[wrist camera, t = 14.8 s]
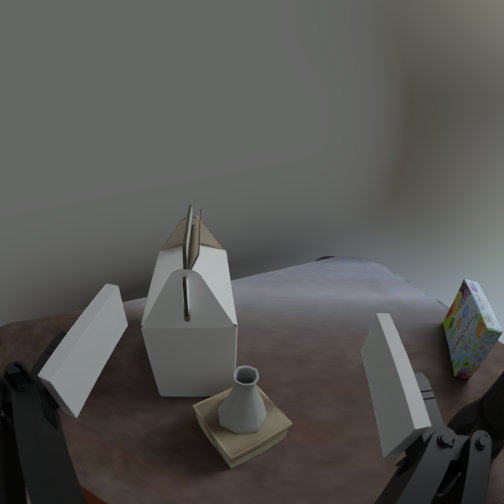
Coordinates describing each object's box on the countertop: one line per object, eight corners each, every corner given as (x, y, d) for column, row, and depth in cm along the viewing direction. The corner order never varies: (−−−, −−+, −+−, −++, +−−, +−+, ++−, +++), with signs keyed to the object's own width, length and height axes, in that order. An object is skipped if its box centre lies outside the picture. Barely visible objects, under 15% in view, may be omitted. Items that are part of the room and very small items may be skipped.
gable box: (234, 396, 45) (241, 258, 32) (160, 397, 43) (125, 259, 30) (224, 316, 64) (227, 198, 51) (167, 317, 62) (156, 198, 49)
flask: (212, 429, 33) (208, 393, 28) (222, 390, 39) (222, 349, 35) (263, 438, 32) (273, 404, 28) (269, 398, 39) (278, 357, 34)
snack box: (470, 380, 44) (504, 332, 37) (453, 378, 46) (486, 328, 39) (456, 325, 62) (478, 281, 55) (441, 322, 64) (462, 276, 57)
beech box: (285, 438, 38) (292, 423, 35) (230, 470, 32) (231, 458, 29) (248, 397, 45) (250, 378, 42) (196, 422, 39) (192, 405, 36)
